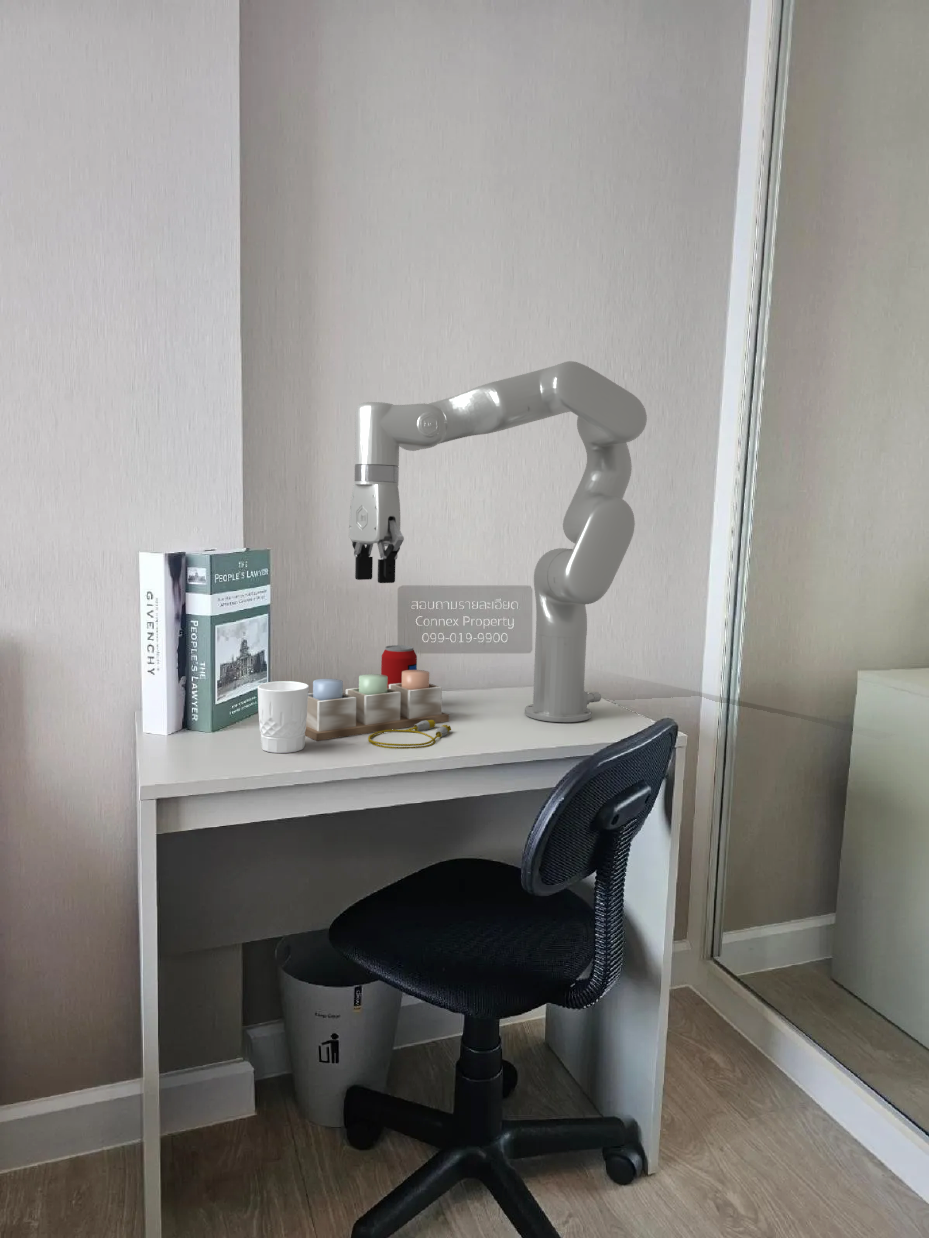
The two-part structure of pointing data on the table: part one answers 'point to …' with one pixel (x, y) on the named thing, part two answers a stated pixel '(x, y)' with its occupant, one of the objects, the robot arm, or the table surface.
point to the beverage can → (397, 662)
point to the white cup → (282, 715)
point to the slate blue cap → (327, 689)
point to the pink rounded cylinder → (415, 679)
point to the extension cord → (417, 727)
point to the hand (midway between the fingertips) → (374, 580)
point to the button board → (373, 711)
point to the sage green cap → (373, 684)
